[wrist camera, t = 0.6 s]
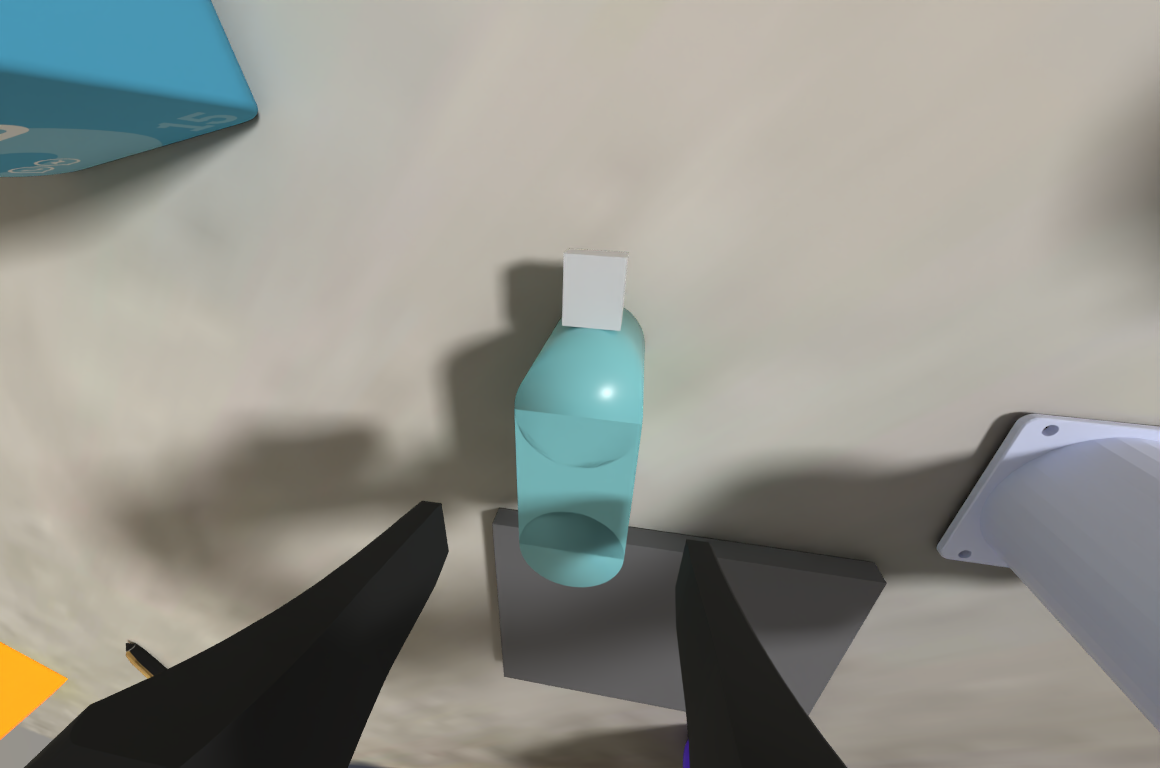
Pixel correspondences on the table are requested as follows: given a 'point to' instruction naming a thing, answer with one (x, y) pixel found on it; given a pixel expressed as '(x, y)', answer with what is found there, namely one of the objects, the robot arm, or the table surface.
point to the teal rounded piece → (581, 428)
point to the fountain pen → (143, 660)
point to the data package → (111, 80)
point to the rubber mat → (674, 616)
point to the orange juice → (22, 687)
